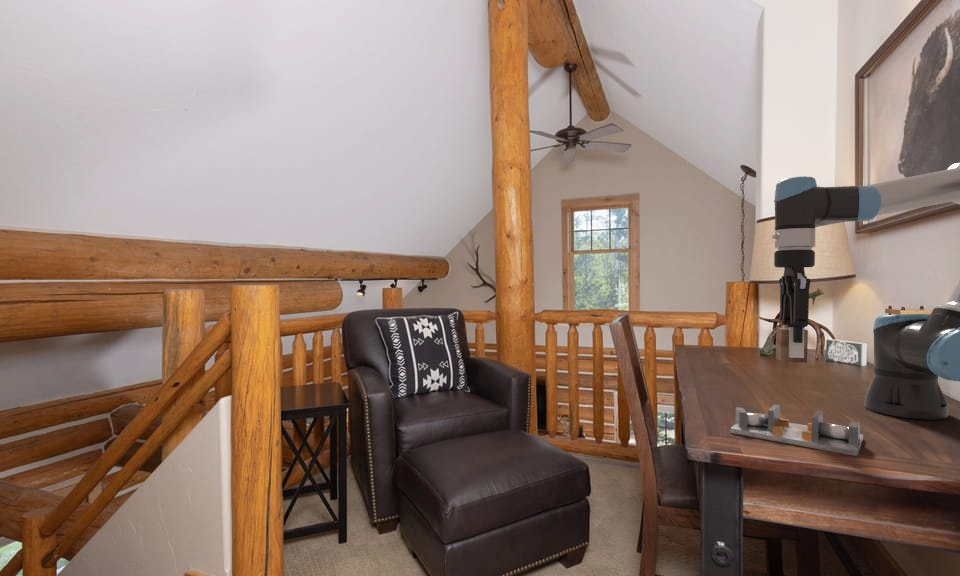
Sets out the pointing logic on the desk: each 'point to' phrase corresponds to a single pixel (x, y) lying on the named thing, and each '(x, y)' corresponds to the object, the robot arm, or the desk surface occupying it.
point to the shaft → (750, 419)
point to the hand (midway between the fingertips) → (792, 355)
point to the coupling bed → (807, 433)
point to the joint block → (783, 346)
